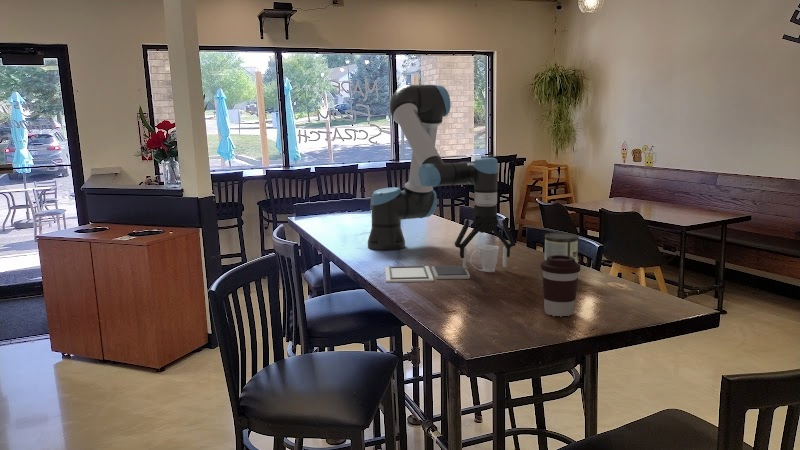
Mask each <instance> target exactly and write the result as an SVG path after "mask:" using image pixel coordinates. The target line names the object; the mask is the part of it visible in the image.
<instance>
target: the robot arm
mask: <svg viewBox="0 0 800 450" xmlns="http://www.w3.org/2000/svg"><path fill="white" fill-rule="evenodd" d="M449 94H450V93H449V91H448V90H447V88H446V87H444V86H443V85H438V84H404V85H402V86H400V87H398V88H397V89H396V90H395V91H394V92H393V94H392V96H391V99H390V103H389V111H390V115H391V117H392V119H393V120H394V122H395V123H396V124H398V125H399V127H400V128H401V131H402V133H403V135H404V137H405V138H406V141H407V142H408V144H409V146H410V148H411V160H410V169H409V176H408V178H409V179H408V181H407V182H405V184H404V187H403V190H401V188H400V187H393V186H392V187H384V188H380V189H377V190H374V191H373V192H372V193H371V200H370V201H371V202H370V205H371V206H370V209H371V229H370V233H369V236H368V240H367V248H369V249H370V250H378V251H393V250H401V249H404V248H405V247H406V239H405V237H404V233H403V230H402V227H401V226H402V225H401V224H402V220H412V219H413V220H414V219H424V218H429V217H431V216H432V215H434V213H435V211H436V209H437V206H438V198H437V196H438V195H437V193H436V190H434V188H436V187H441V186H442V187H443V186H460V185H473V186H474V197H473V202H474V203H473V204H474V206H473V219H468V218H465V219H464V220H463V221H464V223H463V226H462V227H461V230H460V232H459V233H458V235H457V238H456V239H455V242H454V247H456V248H458V249H459V257H460V259H462V266H463V267H464V268H466V269H467V248H466V247H467V245H468V244H469V243H470V242H471V241H472V240H473V239H474V238H475V236H476V235H478V233H489V234H490V233H491V232H493V233H494V234H495V235H496V237H497V238H498V239H499V240H500V241H501V243H503V244H504V246H503V247H502V267H503V268H506V269H507V268H508V267H507V265H508V264H507V263H508V258H510V255H511V248H513V247H515V246H516V245H517V244H516V242H515V239H514V237H513V235H512V233H511V231H510V229H509V227H508V223H507V219H506V218H504V217H502V218H500V219H498V205H497V204H498V184H499V183H498V179H499V177H498V176H499V168H498V163H499V162H498V159H497V158H495V157H477V158H475V159H474V162H473V161H460V162H444V161H443V159H442V157H441V155H440V153H439V152H438V150H437V148H436V140H437V133H438V126H440V125H441V124H442V123H443V118H444V117H446V116H448V115H449V114H450V110H451V106H452V105H451V98H450V97H451V96H450V95H449ZM471 225H473V226H474V227H473V228H472V230H471V232H470V233H469V234H468V235H467V236H466V237H465V235H466V233H467V231H468V229H469V227H471ZM497 225H500V226H501V227H502V230H503V231H504V233H505V235H506V237H507V239H508V241H509V242H508V241H507V240H506V239H505V237H504V236H503V235H502V233H500V232H499V231H498V230H497V228H496V227H497ZM464 237H465V239H464Z"/></svg>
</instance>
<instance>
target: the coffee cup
mask: <svg viewBox="0 0 800 450" xmlns="http://www.w3.org/2000/svg"><path fill="white" fill-rule="evenodd" d="M540 269H541V270H542V271H543V272H542V297H543V304H544V313H545V314H546V315H548V316H550V315H552V316H551V317H555V316H560V317H559V318H563V317H562V316H568V317H570V316H569V315H571V316H572V315H573V314H574V310H575V309H574V308H575V300H576V298H577V290H578V283H579V282H578V281H579V279H578V273H580V272H581V264H580V263H579V262H578V261H577V262H575V259H574V258H573V257H570V256H565V255H552V256H549V257H547V259H546V261H544V260H543V261H541V263H540Z"/></svg>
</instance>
